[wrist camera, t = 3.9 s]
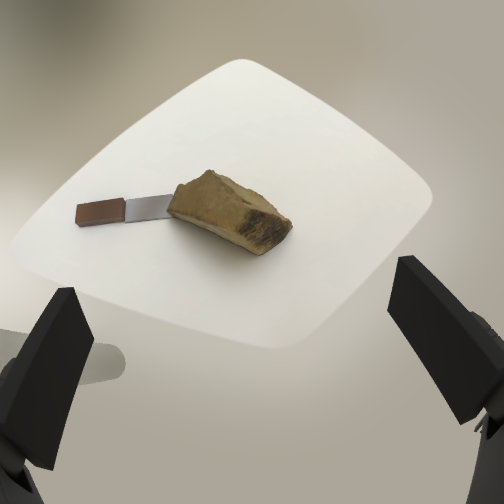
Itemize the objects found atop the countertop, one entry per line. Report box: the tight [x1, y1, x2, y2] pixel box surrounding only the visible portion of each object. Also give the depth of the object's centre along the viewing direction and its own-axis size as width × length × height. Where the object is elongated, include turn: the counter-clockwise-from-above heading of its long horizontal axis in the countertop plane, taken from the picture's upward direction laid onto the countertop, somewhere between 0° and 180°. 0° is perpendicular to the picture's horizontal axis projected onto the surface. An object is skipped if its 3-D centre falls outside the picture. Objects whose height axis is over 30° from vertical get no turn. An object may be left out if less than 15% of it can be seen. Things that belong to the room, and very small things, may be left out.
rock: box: [166, 170, 293, 255], centre depth 26 cm, size 11×9×10 cm
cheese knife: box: [75, 194, 173, 227], centre depth 28 cm, size 10×2×1 cm, turn 96°
